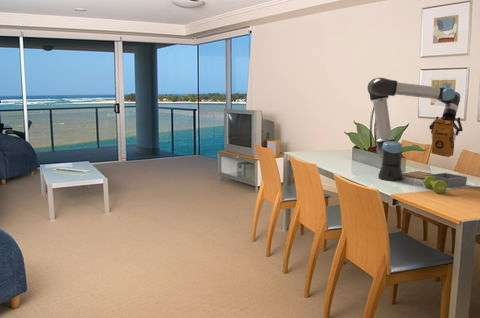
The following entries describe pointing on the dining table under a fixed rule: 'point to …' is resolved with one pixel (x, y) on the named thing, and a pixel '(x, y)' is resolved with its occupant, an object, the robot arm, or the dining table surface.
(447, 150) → the coffee package
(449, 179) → the tray
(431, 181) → the dumbbell
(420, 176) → the board
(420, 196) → the dining table surface
